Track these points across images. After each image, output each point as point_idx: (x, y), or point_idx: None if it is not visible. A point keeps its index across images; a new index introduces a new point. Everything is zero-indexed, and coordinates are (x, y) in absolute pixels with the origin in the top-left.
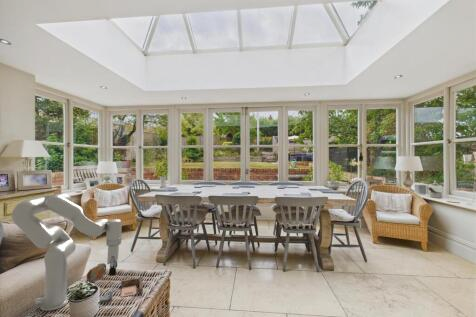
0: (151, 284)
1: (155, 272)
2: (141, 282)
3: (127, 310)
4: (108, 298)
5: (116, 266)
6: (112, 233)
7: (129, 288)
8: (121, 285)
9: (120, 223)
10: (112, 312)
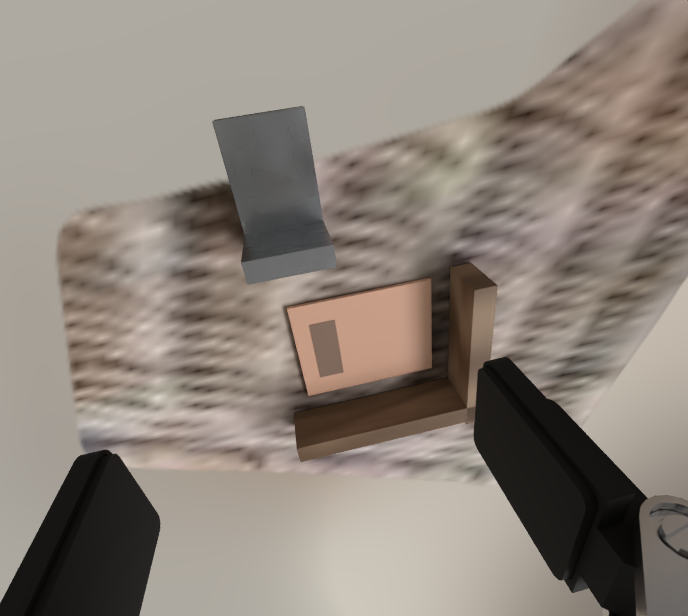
0: (410, 443)
1: None
2: (395, 435)
3: (99, 393)
4: (249, 224)
5: (481, 452)
6: None
7: (397, 336)
8: (456, 273)
9: None
10: (62, 303)
